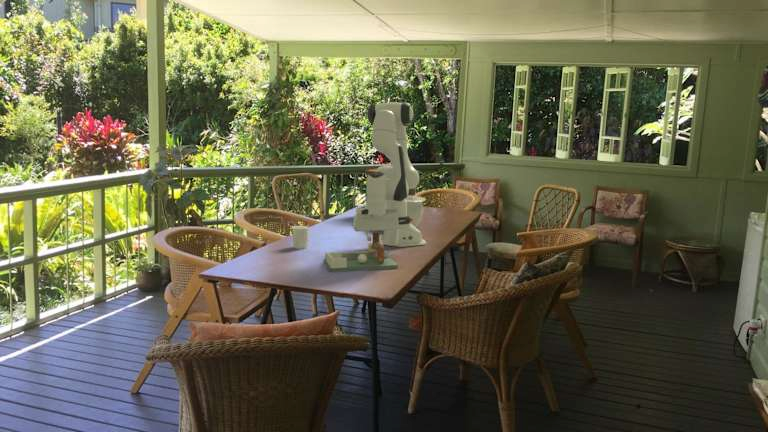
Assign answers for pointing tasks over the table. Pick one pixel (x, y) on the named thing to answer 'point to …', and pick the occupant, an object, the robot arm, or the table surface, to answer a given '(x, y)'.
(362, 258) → the ball
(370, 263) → the pitch
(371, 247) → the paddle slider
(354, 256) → the rail
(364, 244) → the table surface
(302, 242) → the white cup
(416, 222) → the chamber pot
